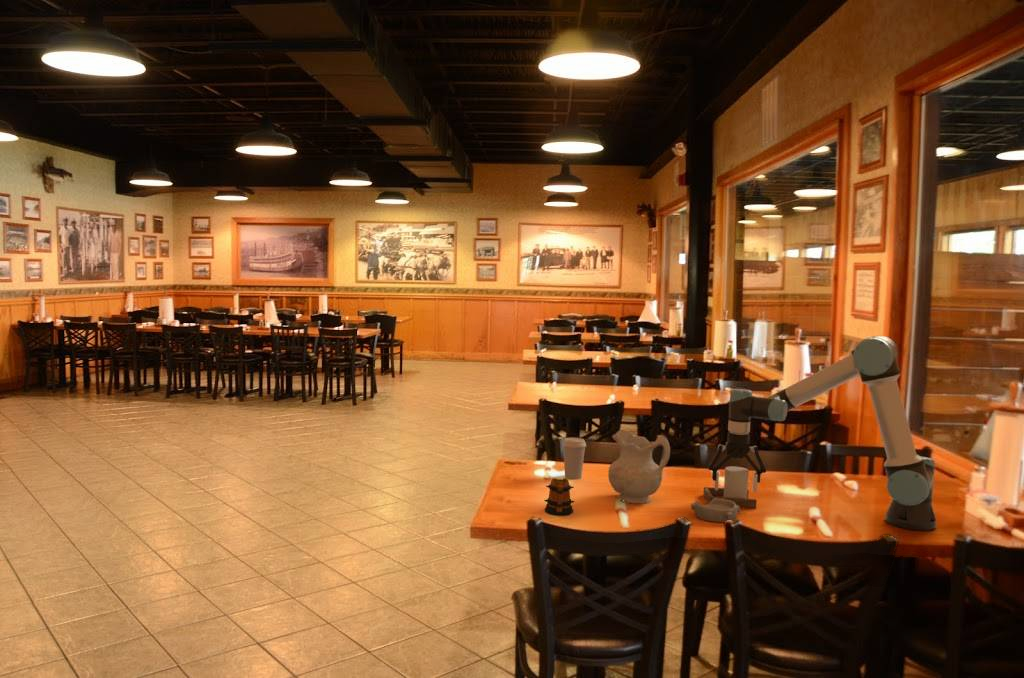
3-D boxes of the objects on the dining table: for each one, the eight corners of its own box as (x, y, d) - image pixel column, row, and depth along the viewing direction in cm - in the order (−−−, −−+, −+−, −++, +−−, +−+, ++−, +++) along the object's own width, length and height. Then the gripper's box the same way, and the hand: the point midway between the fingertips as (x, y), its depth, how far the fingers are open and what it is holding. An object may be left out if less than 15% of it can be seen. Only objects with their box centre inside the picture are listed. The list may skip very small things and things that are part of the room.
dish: (686, 516, 263) (687, 502, 262) (708, 508, 272) (709, 494, 272) (724, 527, 252) (725, 512, 252) (746, 518, 262) (747, 504, 262)
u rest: (756, 508, 273) (756, 500, 273) (709, 506, 275) (710, 497, 274) (747, 497, 287) (747, 489, 286) (703, 495, 288) (703, 487, 288)
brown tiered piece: (543, 506, 269) (545, 473, 268) (573, 507, 268) (574, 474, 267) (543, 518, 256) (544, 484, 255) (574, 519, 255) (576, 485, 254)
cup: (721, 498, 285) (723, 465, 284) (744, 499, 284) (746, 467, 283) (725, 504, 277) (727, 471, 276) (748, 506, 276) (750, 472, 275)
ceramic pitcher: (670, 498, 286) (673, 431, 285) (666, 510, 267) (669, 437, 267) (611, 492, 292) (614, 426, 291) (603, 503, 273) (606, 432, 272)
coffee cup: (556, 475, 310) (558, 437, 308) (577, 473, 314) (578, 436, 312) (568, 481, 301) (569, 443, 300) (589, 479, 305) (591, 441, 304)
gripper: (771, 431, 281) (768, 489, 283) (701, 428, 283) (698, 485, 285) (777, 436, 274) (773, 495, 275) (705, 432, 275) (702, 491, 277)
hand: (735, 490), depth 280 cm, fingers open, 13 cm apart
